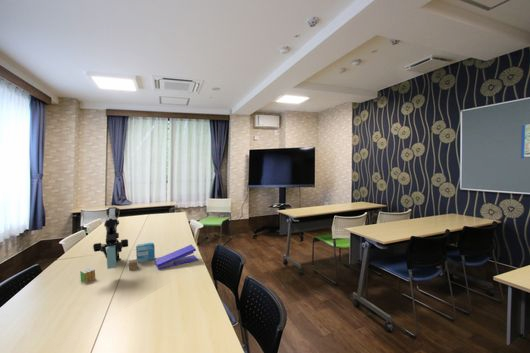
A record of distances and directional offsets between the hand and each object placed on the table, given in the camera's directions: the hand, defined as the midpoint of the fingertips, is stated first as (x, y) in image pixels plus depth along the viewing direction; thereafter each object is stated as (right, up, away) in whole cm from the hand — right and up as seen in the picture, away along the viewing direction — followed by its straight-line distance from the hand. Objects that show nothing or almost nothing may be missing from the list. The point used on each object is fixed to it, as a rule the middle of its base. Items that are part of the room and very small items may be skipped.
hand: (111, 257), depth 150 cm
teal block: (-1, -7, +2) cm, 7 cm away
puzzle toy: (-15, -14, 0) cm, 20 cm away
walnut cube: (+5, -13, +16) cm, 21 cm away
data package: (+7, -12, +30) cm, 33 cm away
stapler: (+32, -13, +25) cm, 42 cm away
